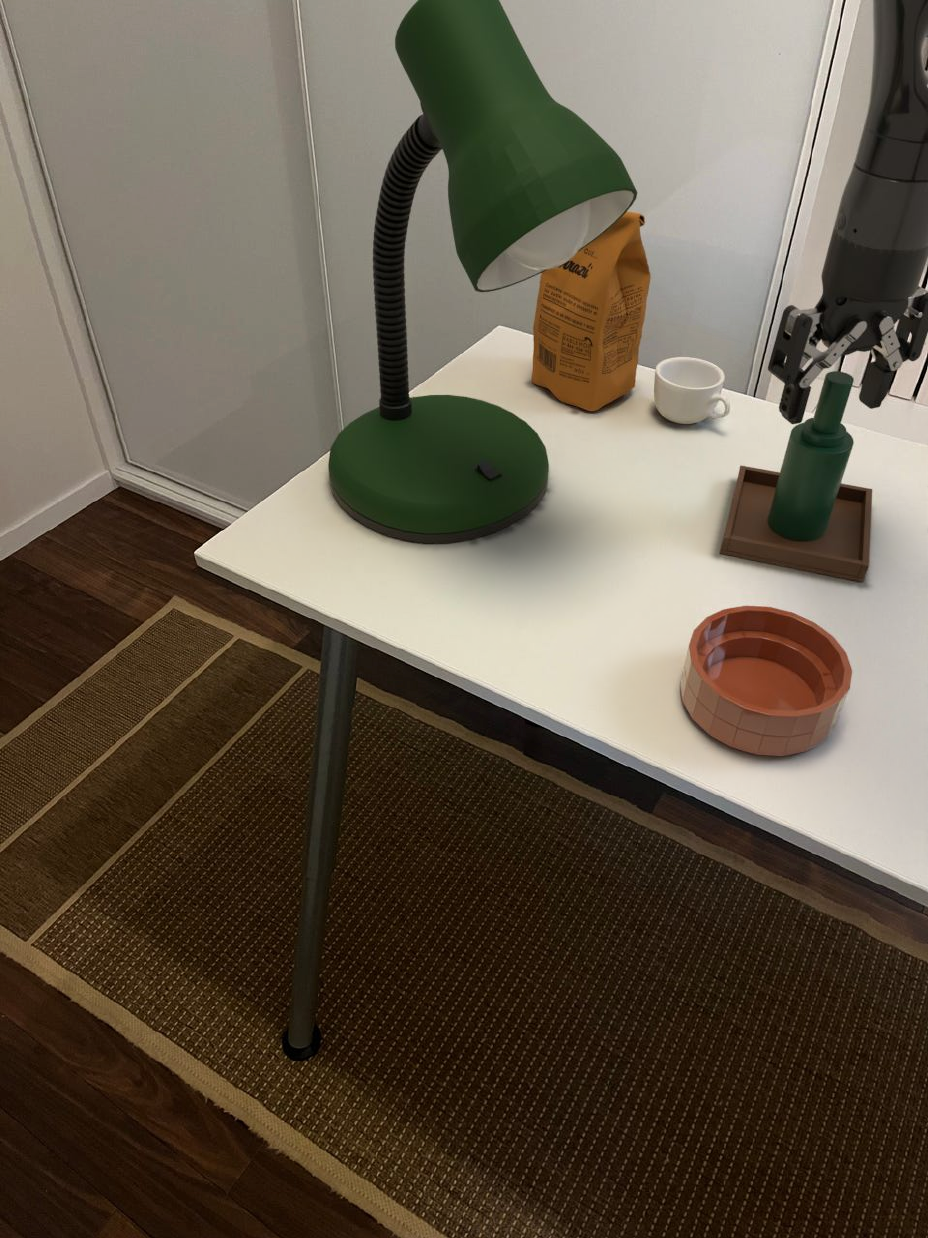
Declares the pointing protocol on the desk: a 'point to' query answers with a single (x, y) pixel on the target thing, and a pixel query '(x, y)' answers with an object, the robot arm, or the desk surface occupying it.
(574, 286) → the coffee package
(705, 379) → the teacup
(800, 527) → the bottle
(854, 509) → the tray
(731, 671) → the bowl
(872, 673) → the desk surface
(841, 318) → the robot arm
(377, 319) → the desk lamp
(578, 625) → the desk surface
